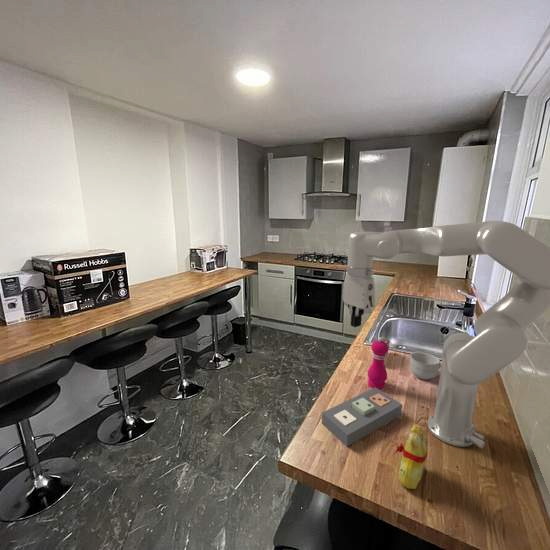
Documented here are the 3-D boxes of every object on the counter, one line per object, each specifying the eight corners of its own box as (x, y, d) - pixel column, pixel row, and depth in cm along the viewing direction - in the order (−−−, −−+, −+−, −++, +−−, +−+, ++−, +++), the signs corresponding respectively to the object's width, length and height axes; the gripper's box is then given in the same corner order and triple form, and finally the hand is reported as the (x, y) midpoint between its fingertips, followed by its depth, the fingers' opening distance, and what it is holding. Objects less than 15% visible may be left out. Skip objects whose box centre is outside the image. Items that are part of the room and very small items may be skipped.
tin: (382, 351, 139) (384, 335, 137) (389, 353, 137) (391, 337, 136) (372, 365, 127) (374, 347, 125) (380, 367, 126) (381, 349, 124)
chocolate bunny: (427, 465, 78) (434, 417, 75) (416, 496, 70) (423, 444, 66) (401, 452, 82) (406, 406, 79) (387, 479, 74) (392, 429, 71)
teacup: (403, 374, 120) (405, 357, 118) (415, 365, 127) (417, 348, 125) (440, 390, 110) (443, 371, 108) (450, 378, 117) (453, 360, 115)
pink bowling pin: (387, 391, 109) (392, 342, 104) (367, 389, 111) (371, 340, 106) (384, 380, 116) (389, 334, 111) (365, 378, 117) (369, 332, 113)
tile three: (389, 410, 98) (390, 400, 98) (379, 415, 96) (380, 405, 95) (377, 401, 103) (378, 392, 102) (367, 406, 100) (368, 397, 99)
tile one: (356, 428, 90) (356, 418, 89) (344, 435, 88) (345, 424, 87) (344, 418, 94) (345, 409, 94) (332, 424, 92) (333, 415, 91)
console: (401, 414, 97) (402, 404, 96) (346, 446, 84) (347, 435, 83) (374, 396, 106) (375, 387, 105) (321, 423, 93) (322, 412, 92)
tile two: (374, 415, 94) (374, 405, 93) (363, 421, 91) (364, 411, 91) (362, 406, 98) (362, 397, 97) (351, 412, 96) (352, 402, 95)
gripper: (387, 274, 88) (381, 331, 92) (350, 266, 101) (347, 316, 105) (370, 278, 84) (365, 336, 89) (334, 268, 97) (331, 320, 101)
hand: (355, 325), depth 97 cm, fingers closed
